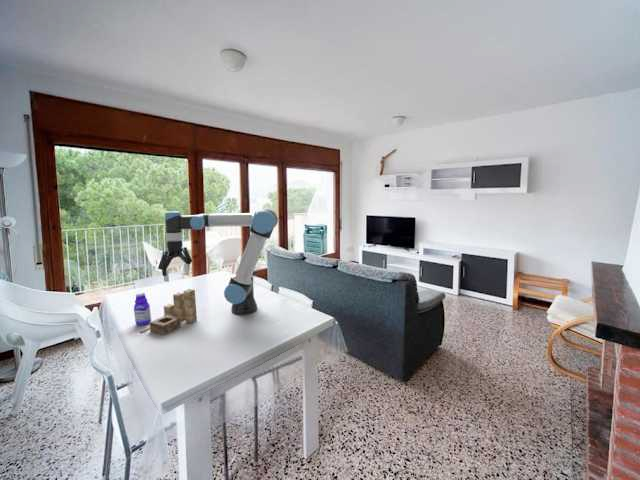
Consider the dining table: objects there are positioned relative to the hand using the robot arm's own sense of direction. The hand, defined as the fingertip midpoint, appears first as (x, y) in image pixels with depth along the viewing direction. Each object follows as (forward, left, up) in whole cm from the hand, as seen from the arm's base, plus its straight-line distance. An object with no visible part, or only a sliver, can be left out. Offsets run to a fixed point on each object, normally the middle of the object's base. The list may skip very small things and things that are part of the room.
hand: (177, 278), depth 158 cm
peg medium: (0, 0, -24) cm, 24 cm away
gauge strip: (+12, -5, -24) cm, 27 cm away
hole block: (+12, +3, -24) cm, 27 cm away
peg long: (0, +8, -24) cm, 25 cm away
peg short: (0, -8, -24) cm, 25 cm away
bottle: (+11, -14, -24) cm, 30 cm away
